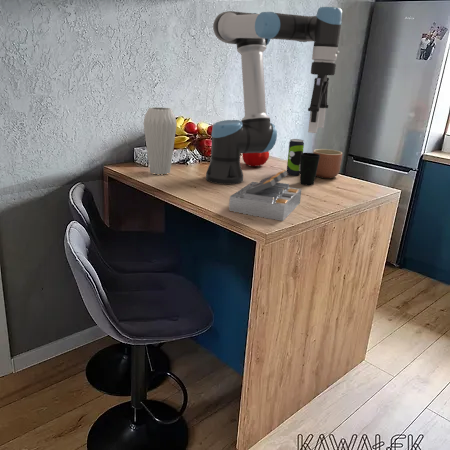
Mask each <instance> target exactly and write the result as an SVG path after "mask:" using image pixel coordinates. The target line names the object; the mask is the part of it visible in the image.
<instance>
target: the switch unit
mask: <svg viewBox="0 0 450 450" xmlns="http://www.w3.org/2000/svg"><path fill="white" fill-rule="evenodd" d="M257 183H259V182H258V181H257V182H256V181H251V182H250V183H248V184H247V185H245V186H244V187H243V188H240V189H239V190H237V191H236V192H235V193H233V194H231V195H230V196H229V203H228V211H229V210H230V211H234V212H233V213H235V212H239V213H238V214H240V213H243V214H242V215H246V214H248V215H247V216H252V215H253V216H252V217H257V216H259V218H263V217H264V218H265V219H270V220H274V219H275V220H276V221H281V222H284V220H286V218H288V216H289V215H290V214H292V212H293V211H294V210H295V209H296V208H298V207H297V206H299V205H300V203H301V198H302V188H297V187H290V183H286V182H285V183H284V182H280V181H279V182H276V184H275V185H274V186H272V187H269V188H266V189H264V190H261V191H258V192H256V193H253V194H251V193H246V190H248V189H249V188H252V187H253V186H254V185H255V184H257Z"/></svg>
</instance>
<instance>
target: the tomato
mask: <svg viewBox="0 0 450 450" xmlns="http://www.w3.org/2000/svg"><path fill="white" fill-rule="evenodd" d="M241 155H242V157H241V159H242V160H243V162H244V164H245V165H246V166H249V167H260V166H262V165H265V164H266V163H267V161H268V160H269V158H270V151H268V152H262V153H241Z"/></svg>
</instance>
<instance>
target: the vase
mask: <svg viewBox="0 0 450 450" xmlns="http://www.w3.org/2000/svg"><path fill="white" fill-rule="evenodd" d="M143 131H144V137H145V138H144V139H145V145H146V151H147V159H148V166H149V173H150V172H151V173H155V174H167V173H170V174H171V167H172V161H173V153H174V147H175V139H176V134H177V133H176V132H177V119H176V115H175V114H174V111H173V110H172V108H169V107H159V106H158V107H157V106H155V107H154V106H153V107H149V108H148V109H147V111H146V113H145V115H144V119H143ZM151 173H150V174H151Z"/></svg>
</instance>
